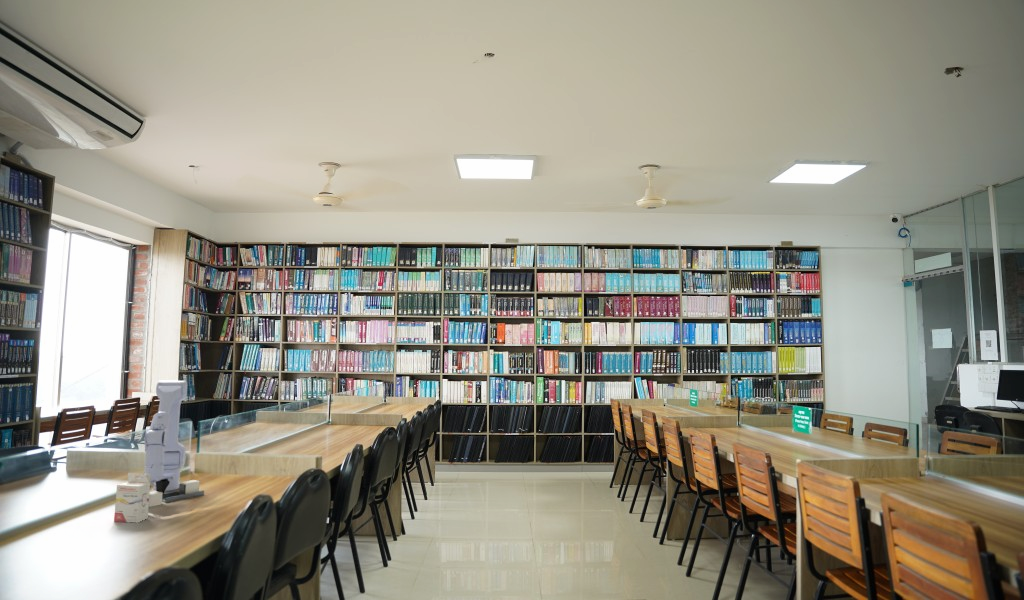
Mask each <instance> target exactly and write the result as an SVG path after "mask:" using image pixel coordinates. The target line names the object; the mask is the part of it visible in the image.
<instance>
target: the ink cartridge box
mask: <svg viewBox="0 0 1024 600" xmlns="http://www.w3.org/2000/svg"><path fill="white" fill-rule="evenodd" d="M141 477H143V479H137V478H141ZM150 486H151V483H150V474H145V473H142V472H140V473H139V472H128V473H127V481H125V482H123V483H119V484H117V485H116V493H115V504H114V516H113V517H114V518H113V521H114V522H115V523H116V522H117V523H130V522H136V523H135V524H138V523H140V521H141V522H143V521H145V519H146V520H147V518H148V519H149V494H150V491H151V487H150ZM142 520H143V521H142Z"/></svg>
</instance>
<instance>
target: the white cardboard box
mask: <svg viewBox="0 0 1024 600" xmlns="http://www.w3.org/2000/svg"><path fill="white" fill-rule="evenodd" d="M162 504H163V502H162V492H158V491H156V490H150V494H149V507H156V506H160V505H162Z"/></svg>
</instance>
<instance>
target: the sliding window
mask: <svg viewBox="0 0 1024 600" xmlns="http://www.w3.org/2000/svg"><path fill="white" fill-rule="evenodd" d="M202 496H205V490H199V491H197V492H192V493H187V494H182V495H180V494H179V490H175V491H170V492H164V494H163V497H162V503H166V504H168V503H169V504H170V503H173V502H178V501H183V500H187V499H193V498H197V497H198V498H199V497H202Z"/></svg>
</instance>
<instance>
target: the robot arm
mask: <svg viewBox="0 0 1024 600" xmlns="http://www.w3.org/2000/svg"><path fill="white" fill-rule="evenodd" d="M155 393H156V396H157V399H159V404H158V411H157V412H156V413H154V414H153V417H152V420H151V424H150V427H149V429H148V431H146V432H145V434H144V440H143V441H144V452H145V458H144V459H145V461H144V474H150V484H151V483H153V488H152V489H151V487H152V486H151V485H150V491H154V490H155V491H158V492H162V497H163V494H164V493H166V492H167V491H172V490H173V491H174V490H175V491H176V490H179V484H180V482H181V481H180V480H181V479H180V478H181V468H182V467H183V466H184V465H185V463H186V460H187V453H186V446H185V445H184V444H183V443H180V442H179V432H180V431H179V429H180V416H181V404H182V401H186V400H187V396H188V381H187V380H185V379H184V380H159V381H157V384H156V389H155ZM136 478H137V479H143V477H136Z"/></svg>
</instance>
